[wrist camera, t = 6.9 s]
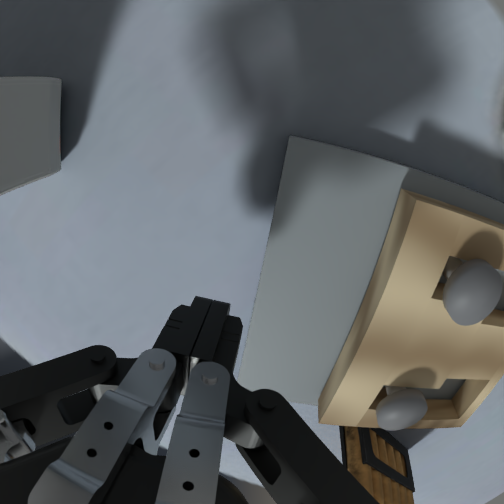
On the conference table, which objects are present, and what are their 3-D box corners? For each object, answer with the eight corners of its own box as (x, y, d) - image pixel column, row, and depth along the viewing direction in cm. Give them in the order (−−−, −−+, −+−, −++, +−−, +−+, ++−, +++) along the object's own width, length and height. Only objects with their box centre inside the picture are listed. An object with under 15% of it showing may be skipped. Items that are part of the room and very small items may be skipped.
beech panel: (401, 188, 13) (416, 199, 11) (548, 244, 13) (566, 257, 11) (317, 399, 19) (318, 423, 17) (453, 407, 18) (460, 426, 17)
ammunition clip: (408, 449, 23) (424, 554, 13) (391, 457, 24) (403, 560, 13) (357, 406, 21) (370, 551, 10) (337, 415, 22) (342, 557, 11)
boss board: (289, 134, 14) (288, 141, 10) (548, 225, 13) (592, 255, 9) (237, 379, 21) (225, 434, 17) (451, 402, 20) (467, 446, 16)
